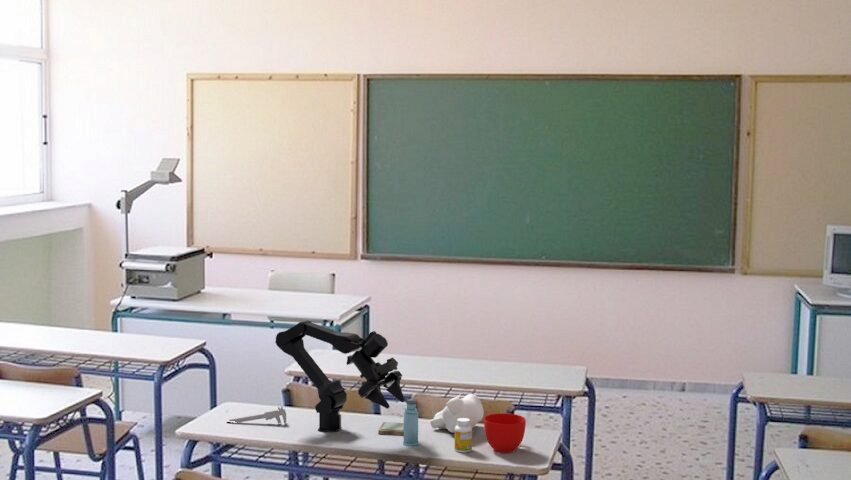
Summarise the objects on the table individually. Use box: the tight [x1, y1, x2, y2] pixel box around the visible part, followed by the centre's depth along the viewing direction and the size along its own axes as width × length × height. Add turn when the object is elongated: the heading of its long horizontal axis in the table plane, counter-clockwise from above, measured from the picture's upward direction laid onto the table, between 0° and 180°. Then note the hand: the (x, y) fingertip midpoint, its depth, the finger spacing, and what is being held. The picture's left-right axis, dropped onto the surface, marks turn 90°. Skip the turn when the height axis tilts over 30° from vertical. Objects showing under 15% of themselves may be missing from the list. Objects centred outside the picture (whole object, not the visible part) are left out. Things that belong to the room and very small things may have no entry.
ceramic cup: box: [483, 412, 527, 454], centre depth 315 cm, size 13×17×10 cm
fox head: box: [429, 393, 484, 434], centre depth 334 cm, size 13×17×20 cm
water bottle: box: [402, 398, 420, 447], centre depth 319 cm, size 5×5×14 cm
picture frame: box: [377, 421, 404, 436], centre depth 334 cm, size 10×10×1 cm
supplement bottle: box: [453, 418, 473, 453], centre depth 313 cm, size 5×5×10 cm
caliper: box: [228, 406, 287, 424], centre depth 341 cm, size 20×1×6 cm, turn 89°
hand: (396, 404), depth 321 cm, fingers open, 9 cm apart
